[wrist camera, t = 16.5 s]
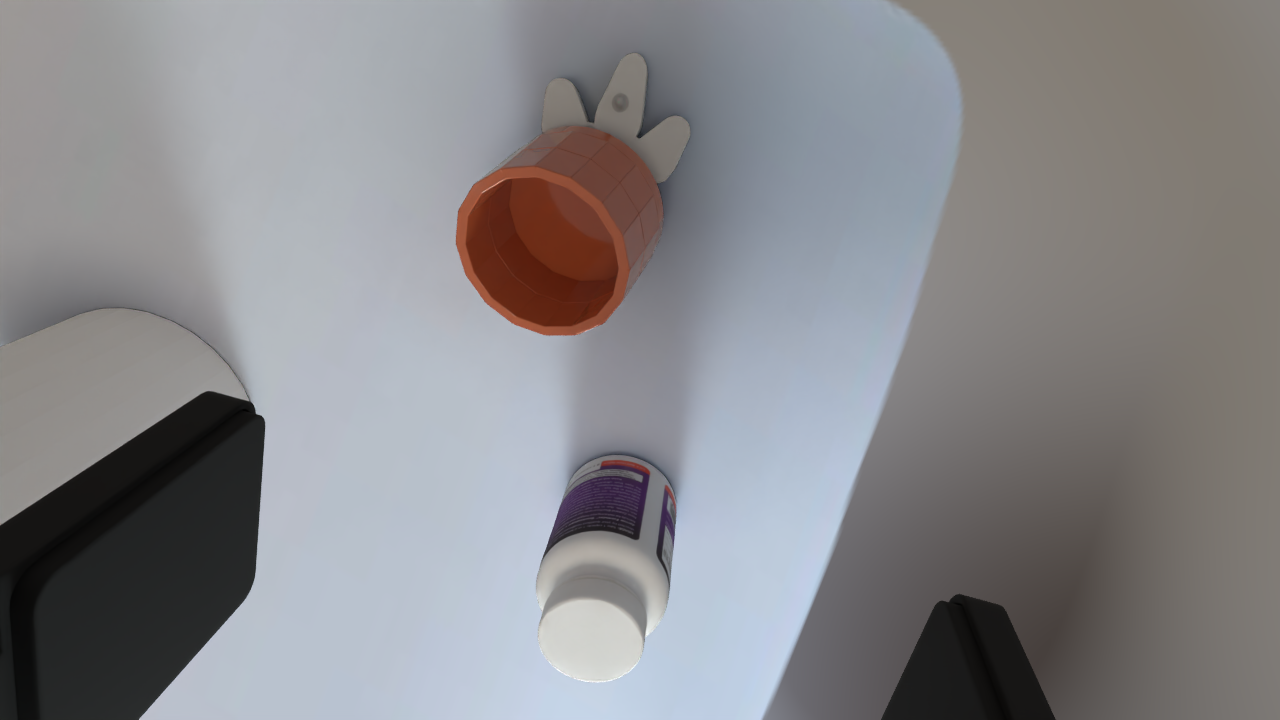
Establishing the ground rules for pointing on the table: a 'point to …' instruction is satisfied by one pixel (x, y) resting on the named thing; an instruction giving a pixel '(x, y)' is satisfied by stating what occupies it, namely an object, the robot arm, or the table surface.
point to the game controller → (621, 116)
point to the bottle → (93, 394)
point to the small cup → (560, 230)
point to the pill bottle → (606, 568)
